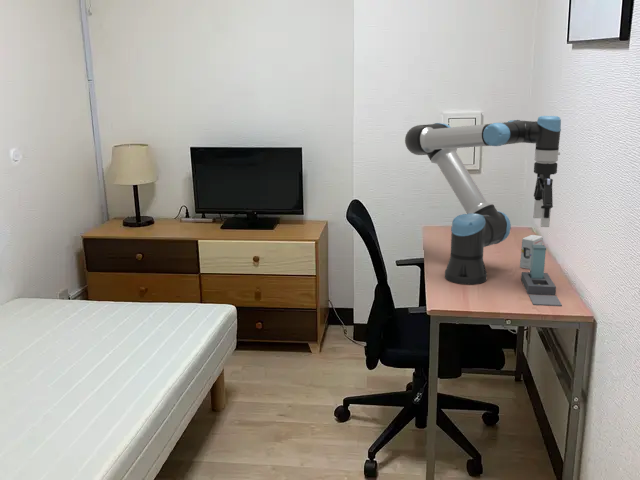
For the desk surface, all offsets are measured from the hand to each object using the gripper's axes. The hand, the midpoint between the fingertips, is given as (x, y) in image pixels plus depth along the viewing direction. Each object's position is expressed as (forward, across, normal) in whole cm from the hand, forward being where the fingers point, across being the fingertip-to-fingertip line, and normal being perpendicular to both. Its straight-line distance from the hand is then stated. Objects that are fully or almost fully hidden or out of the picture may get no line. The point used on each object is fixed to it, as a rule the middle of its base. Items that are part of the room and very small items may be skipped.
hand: (540, 222), depth 223 cm
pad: (+23, -18, 0) cm, 29 cm away
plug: (+23, 0, 0) cm, 23 cm away
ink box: (+23, +22, -2) cm, 32 cm away
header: (+23, -4, 0) cm, 23 cm away
